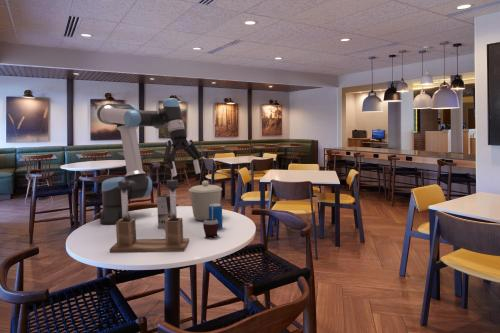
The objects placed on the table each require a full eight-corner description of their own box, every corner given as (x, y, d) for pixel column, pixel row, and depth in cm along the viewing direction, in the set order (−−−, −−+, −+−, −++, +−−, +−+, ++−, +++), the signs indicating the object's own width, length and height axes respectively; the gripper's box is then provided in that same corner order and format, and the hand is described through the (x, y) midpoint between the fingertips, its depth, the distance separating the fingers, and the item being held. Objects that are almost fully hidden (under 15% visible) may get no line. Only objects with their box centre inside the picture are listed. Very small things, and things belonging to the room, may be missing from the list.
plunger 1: (122, 223, 148) (120, 180, 146) (133, 223, 148) (130, 180, 146) (118, 226, 144) (116, 182, 142) (129, 226, 144) (127, 182, 142)
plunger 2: (169, 223, 148) (168, 179, 146) (180, 222, 148) (178, 179, 146) (167, 225, 144) (165, 181, 142) (178, 225, 144) (176, 181, 142)
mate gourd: (208, 240, 155) (207, 206, 153) (200, 236, 161) (199, 203, 159) (222, 236, 159) (222, 204, 157) (214, 232, 165) (213, 201, 164)
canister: (187, 216, 197) (186, 179, 195) (218, 213, 203) (217, 177, 201) (192, 224, 180) (191, 184, 178) (226, 221, 186) (225, 182, 184)
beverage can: (210, 226, 175) (210, 203, 174) (223, 227, 175) (222, 203, 173) (208, 230, 169) (207, 206, 168) (221, 230, 168) (220, 206, 167)
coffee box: (169, 229, 173) (168, 197, 171) (157, 228, 174) (156, 196, 172) (177, 224, 181) (176, 193, 180) (165, 223, 183) (164, 193, 181)
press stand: (120, 242, 153) (118, 217, 151) (189, 241, 153) (188, 215, 152) (109, 252, 141) (108, 224, 140) (184, 251, 141) (183, 223, 140)
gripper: (158, 128, 153) (168, 175, 150) (202, 128, 171) (212, 170, 169) (149, 133, 158) (159, 179, 155) (193, 133, 176) (202, 173, 174)
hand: (186, 174), depth 162 cm, fingers open, 13 cm apart
